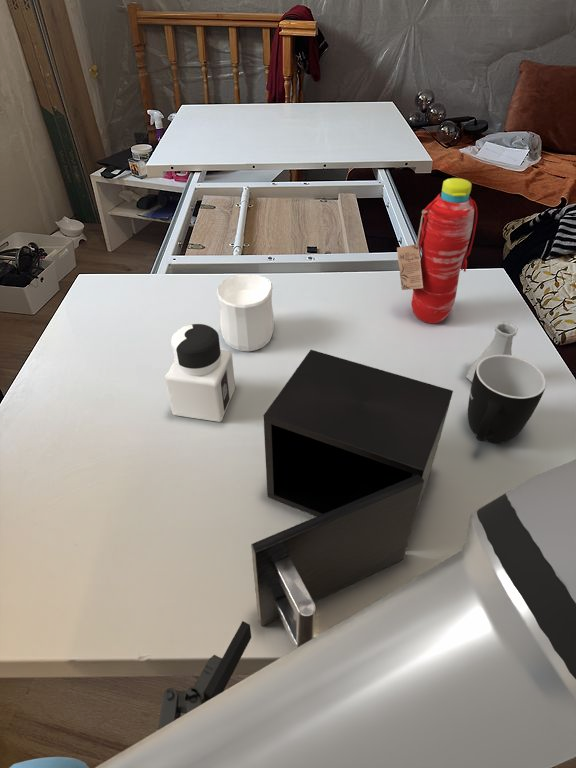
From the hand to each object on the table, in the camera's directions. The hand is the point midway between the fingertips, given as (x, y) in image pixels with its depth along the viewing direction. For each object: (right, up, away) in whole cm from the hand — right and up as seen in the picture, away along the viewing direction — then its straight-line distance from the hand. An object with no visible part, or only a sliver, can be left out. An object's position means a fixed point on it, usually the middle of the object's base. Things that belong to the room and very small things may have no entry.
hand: (315, 663), depth 46 cm
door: (+4, 0, +11) cm, 12 cm away
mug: (+26, +17, +30) cm, 44 cm away
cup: (-9, +33, +48) cm, 59 cm away
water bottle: (+22, +37, +53) cm, 68 cm away
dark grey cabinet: (+6, +11, +24) cm, 27 cm away
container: (-15, +21, +36) cm, 44 cm away
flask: (+30, +25, +39) cm, 56 cm away
